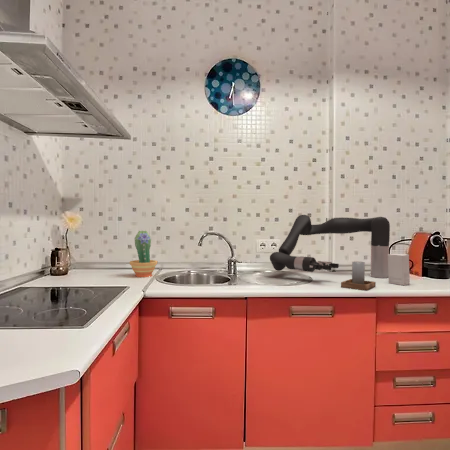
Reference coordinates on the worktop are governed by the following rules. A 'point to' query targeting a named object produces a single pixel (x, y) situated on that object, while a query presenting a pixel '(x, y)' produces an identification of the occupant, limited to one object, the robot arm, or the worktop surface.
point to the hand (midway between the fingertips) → (334, 266)
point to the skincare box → (398, 269)
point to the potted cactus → (143, 256)
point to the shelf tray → (358, 285)
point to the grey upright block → (358, 272)
